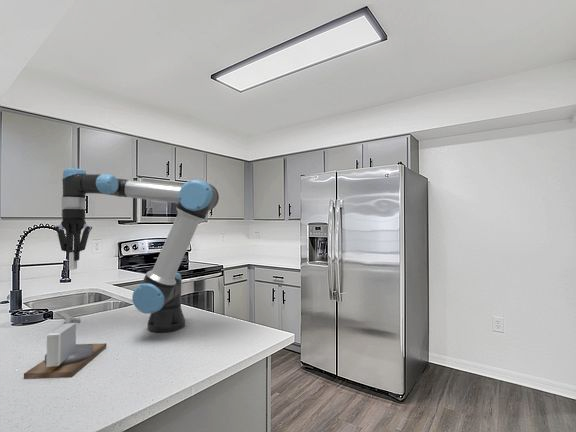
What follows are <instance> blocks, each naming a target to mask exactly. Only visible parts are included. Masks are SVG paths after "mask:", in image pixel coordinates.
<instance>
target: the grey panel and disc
mask: <svg viewBox="0 0 576 432" xmlns="http://www.w3.org/2000/svg"><path fill="white" fill-rule="evenodd" d="M76 334H77V323H76V322H73V323H67V324H64V323H63V325H61V326H60V327H58V328H57V329H55V330H54V331H51V332H50V333H48V334H47V335H46V354H44V360H45V363H46V367H51V366H59V365H67V364H72V363H76V362H79V361H82V360H85V359H87V358H89V357H90V356H91V355H92V354H93V346H91V345H87V344H88V343H78V344H77V343H76V342H77V335H76Z"/></svg>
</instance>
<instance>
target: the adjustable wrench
mask: <svg viewBox="0 0 576 432" xmlns="http://www.w3.org/2000/svg"><path fill="white" fill-rule="evenodd" d="M55 313H56V315H57V316H58V317H60V318H61V319H63V320H64V321H63V325H64V324H67V323H76V324H80V323H81V317H72V316H71V315H69V314H68V313H66V312H65V311H64V310H57V311H56V312H55Z"/></svg>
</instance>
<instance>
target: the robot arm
mask: <svg viewBox="0 0 576 432" xmlns="http://www.w3.org/2000/svg"><path fill="white" fill-rule="evenodd" d="M62 172H63V173H62V178H61V180H62V201H61V202H62V203H61V205H62V209H61V212H62V213H61V217H62V221H61V222H60V224H59V225H56V226H54V230H55V232H56V233H57V237H58V242H59V245H60V250H61V251H63V252H65V253H66V261H67V262H68V270H77V269H78V261H79V260H80V253H81V252H83V251H85V250H86V247H87V243H88V239H89V235H90V232H91V230H92V229H93V226H91V225H88V224H87V223H86V209H85V208H86V195H87V194H98V195H107V196H115V197H119V198H120V197H121V198H131V199H140V200H147V201H148V200H149V201H157V202H162V203H163V202H165V203H174V204H176V207H175V209H176V211H177V214H176V217H175V220H174V222H173V224H172V226H171V228H170V230H169V233H168V235H167V237H166V239H165V241H164V244H163V246H162V248H161V250H160V251H159V252H160V253H159V254H158V257H157V260H156V261H155V264H154V265H153V268H152V269H151V270H149V271H147V272H146V273H145V275H144V278H143V280H142V281H141V283H140V284H139V285H137V286H136V288H135V289H134V290H133V293H132V299H131V300H132V302H133V305H134V307H135V308H136V310H138V311H139V312H141V313H142V314H148V315H149V314H150V315H149V318H148V321H147V327H146V329H147V331H149V332H154V333H168V332H174V331H177V330H178V331H179V330H181V329H183V328H184V327H185V326H186V318H185V316H184V313H183V309H182V275H181V273H179V272H178V270H179V268H180V266H181V263H182V261H183V259H184V257H185V255H186V252H187V250H188V248H189V245H190V244H191V241H192V239H193V236H195V235H194V234H195V232H196V230H197V228H198V226H199V223H200V222H203V221H204V220H205V221H206V218H207V215H208V213H209V211H211V210H214V209H215V208H216V207H217V206H218V203H219V200H220V195H219V191H218V189H217V188H216V187H215V186H214V185H212V184H210V183H208V182H206V181H204V180H201V179H192V180H191V179H190V180H188V181H186V182H185V183H183V184H182V185H176V184H170V183H169V184H167V183H159V182H151V181H149V182H148V181H143V180H141V181H140V180H133V179H126V178H125V179H124V178H118V177H116V176H115V175H113V174H109V173H108V174H107V173H102V174H96V173H95V174H91V173H90V174H87V172H86V170H85V169H83V168H73V167H69V168H67V167H66V168H65V169H64V170H63V171H62ZM82 230H83V232H82Z"/></svg>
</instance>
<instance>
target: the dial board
mask: <svg viewBox="0 0 576 432" xmlns="http://www.w3.org/2000/svg"><path fill="white" fill-rule="evenodd" d="M86 344H87V345H91V346H93V354H92V355H91V356H90V357H89V358H87V359H85V360H82V361H79V362H76V363H72V364H67V365H59V366H51V367H46V363H45V359H44V360H42V361H41V362H39V363H38V364H36V365H35V366H33V367H31V368H30V369H28V370H27V371H25V372H24V373H23V379H24V380H27V379H28V380H29V379H51V378H52V379H55V378H56V379H58V378H73V376H75V375H76V374H77V373H78V372H80V371H81V370H82V369H83V368H84V367H86V366H87V365H88V364H89V363H90V362H91V361H92V360H94V359H95V358H97V356H98V355H100V354H101V353H102V352H103V351H105V350H106V349H107V343H86Z"/></svg>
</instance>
